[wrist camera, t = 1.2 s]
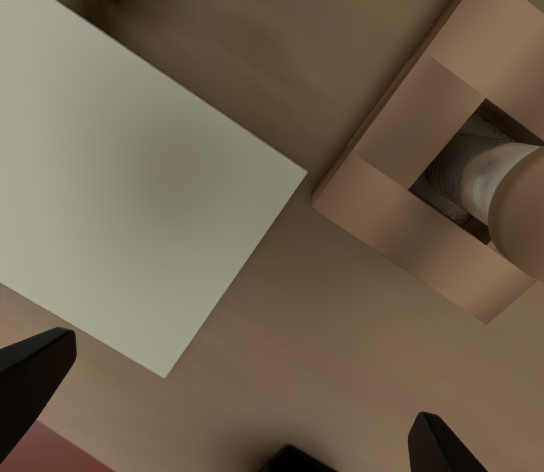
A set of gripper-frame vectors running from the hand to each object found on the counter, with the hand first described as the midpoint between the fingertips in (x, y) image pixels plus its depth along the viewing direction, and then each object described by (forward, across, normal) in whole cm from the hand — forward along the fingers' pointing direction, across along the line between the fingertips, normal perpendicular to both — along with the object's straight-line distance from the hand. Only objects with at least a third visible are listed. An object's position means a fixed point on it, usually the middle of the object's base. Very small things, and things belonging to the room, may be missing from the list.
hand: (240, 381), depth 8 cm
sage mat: (+14, +12, +2) cm, 19 cm away
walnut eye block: (+14, -9, -5) cm, 17 cm away
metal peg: (+14, -9, -5) cm, 17 cm away
